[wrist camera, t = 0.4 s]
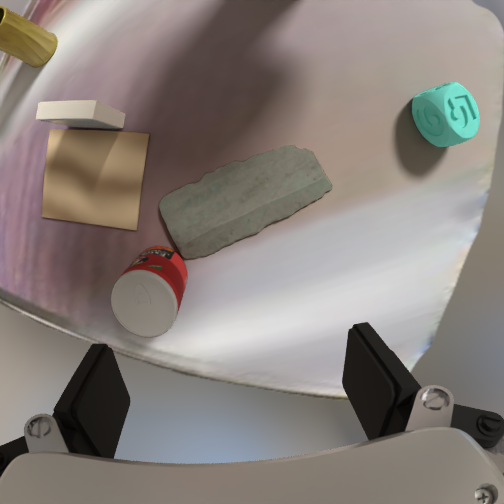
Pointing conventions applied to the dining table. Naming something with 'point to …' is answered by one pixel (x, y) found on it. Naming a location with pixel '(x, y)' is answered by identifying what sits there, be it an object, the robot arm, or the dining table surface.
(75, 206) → the mat
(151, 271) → the canned food
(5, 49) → the vase
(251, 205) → the stone slab
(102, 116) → the tile
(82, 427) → the robot arm
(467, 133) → the decorative dice
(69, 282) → the dining table surface
